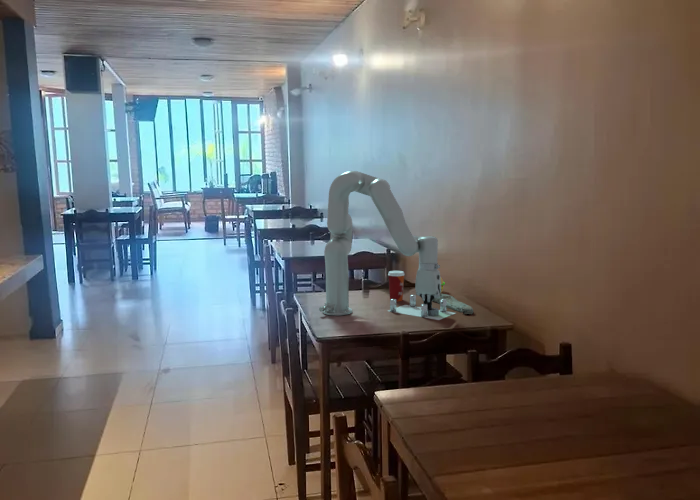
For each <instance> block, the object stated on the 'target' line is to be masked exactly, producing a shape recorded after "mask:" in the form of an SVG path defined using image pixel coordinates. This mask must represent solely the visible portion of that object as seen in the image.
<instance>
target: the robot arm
mask: <svg viewBox="0 0 700 500" xmlns="http://www.w3.org/2000/svg"><path fill="white" fill-rule="evenodd" d="M353 192H355V193H359V194H362V195H365V196H368V197H370V198H371V200H372V202H373V204H374V206H375V207H376V209H377V211H378V213H379V215H380V217H381V219H382V220H383V222H384V224H385V226H386V228H387V230H388V232H389V234H390V236H391V238H392V239H393V241H394V243H395V245H396V246H397V248H398V250H399V252H400V253H401V254H402V255H403V256H406V257H412V256H414V255H416V253H418V269H417V271H416V276H415V285H414V286H415V287H414V288H415V295H416V296H418V297H420V298H421V301H423V304H427V308H433V299H434V298H439V297H440V294H442V293H441V278H442V277H441V272H440V270H439V269H440V268H441V265H439V262H438V259H439V257H438V255H439V254H438V253H439V252H438V251H439V248H438V247H439V245H438V244H439V243H438V237H435V236H431V235H427V236H420V235H418V236H417V235H413V234H412V232H411V230H410V228H409V226H408V225H407V222H406V220H405V216H404V215H405V214H404V212H403V210H402V208H401V206H400V204H399V203H398V201H397V199H396V197H395V195H394V194H393V192H392V190H391V185H390V184H389V182H388V181H387V180H385V179H384V178H379V177H376V176H373V175H370V174H367V173H364V172H361V171H357V170H349V171H345V172H343V173H341V174H339V175H338V176H336V177H335V178H334V179H333V181H332V183H330V187H329V190H328V199H327V200H328V201H327V220H326V226H327V227H326V228H327V229H328V231H329V232H330V239H329V241H327V243H326V245H325V246H324V251H323V252H324V263H325V264H324V265H325V303H324V305H323V306H320V307H318V310H319V312H322V314H324V315H326V316H333V317H334V316H336V317H337V316H347V315H351V314H352V313H353V309H352V308H351V307H349V301H350V300H349V295H350V294H349V290H350V289H349V288H350V287H349V260H348V256H349V254H350V253H351V251H352V245H353V219H352V217H351V215H350V214H349V206H350V205H349V204H350V201H349V198H350V194H351V193H353ZM439 293H440V294H439Z"/></svg>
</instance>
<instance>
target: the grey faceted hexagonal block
mask: <svg viewBox="0 0 700 500" xmlns="http://www.w3.org/2000/svg"><path fill="white" fill-rule="evenodd" d="M439 310H440V308H437V307H432V308H427V315H428V316H439Z"/></svg>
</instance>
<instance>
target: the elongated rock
mask: <svg viewBox="0 0 700 500" xmlns="http://www.w3.org/2000/svg"><path fill="white" fill-rule="evenodd" d="M439 294H440V297H439V298H434V299H433V301H432V303H435V304H436V303H437V304H439V305H440V300H441V299H446V300H447V308H446V309H451V310H453V311H456V312H459V313H461V314H462V315H464V314H471V315H473V314H474V308H473V306H471V305H468V304H466V303H465V302H463V301H460V300H458V299H457V298H455V297H454V296H452V295H450V294H447V293H439Z"/></svg>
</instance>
